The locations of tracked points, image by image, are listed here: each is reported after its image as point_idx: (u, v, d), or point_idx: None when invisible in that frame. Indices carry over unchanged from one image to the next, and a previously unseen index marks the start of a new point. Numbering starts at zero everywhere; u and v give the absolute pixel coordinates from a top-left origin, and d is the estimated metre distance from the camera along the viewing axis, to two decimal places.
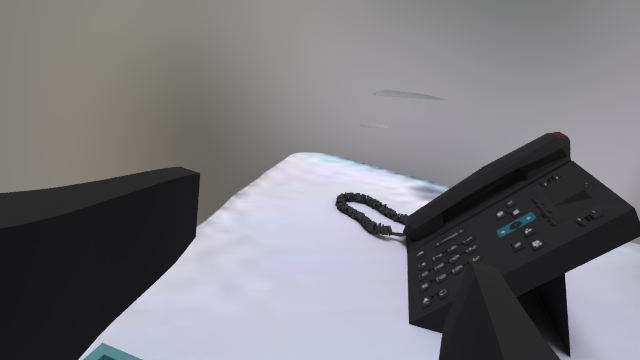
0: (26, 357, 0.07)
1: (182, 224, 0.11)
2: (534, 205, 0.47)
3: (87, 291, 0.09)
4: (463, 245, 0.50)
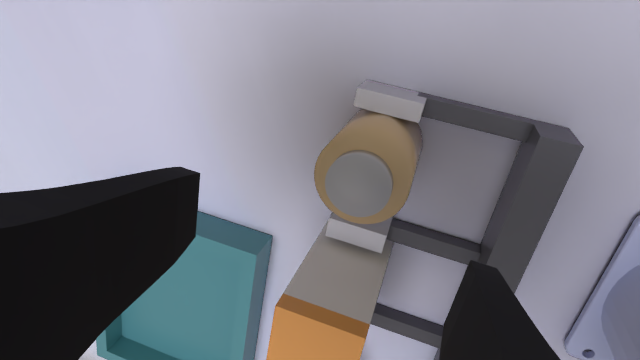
0: (26, 357, 0.07)
1: (182, 224, 0.11)
2: None
3: (87, 291, 0.09)
4: None
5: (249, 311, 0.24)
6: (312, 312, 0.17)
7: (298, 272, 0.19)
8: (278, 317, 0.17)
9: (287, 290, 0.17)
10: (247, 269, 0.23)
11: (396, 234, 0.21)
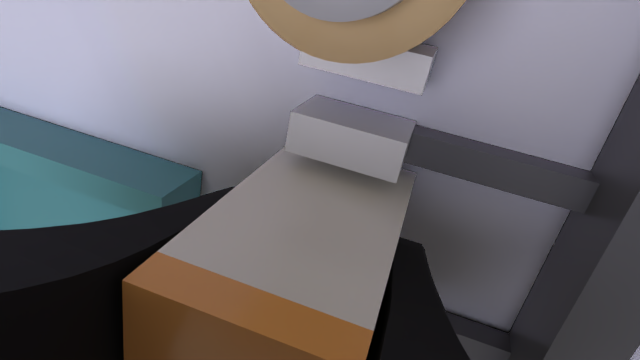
0: None
1: None
2: None
3: None
4: None
5: None
6: (221, 298, 0.06)
7: (212, 211, 0.08)
8: (135, 311, 0.06)
9: (171, 245, 0.07)
10: None
11: (424, 151, 0.11)
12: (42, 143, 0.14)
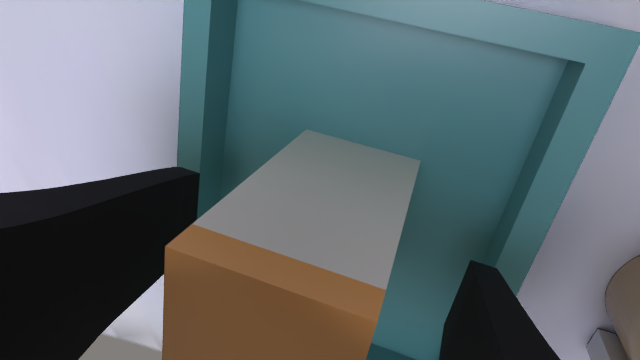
0: (26, 357, 0.07)
1: (182, 224, 0.11)
2: None
3: (87, 291, 0.09)
4: None
5: (561, 198, 0.11)
6: (252, 261, 0.07)
7: (236, 191, 0.09)
8: (175, 275, 0.07)
9: (203, 219, 0.08)
10: (599, 80, 0.09)
11: None
12: None
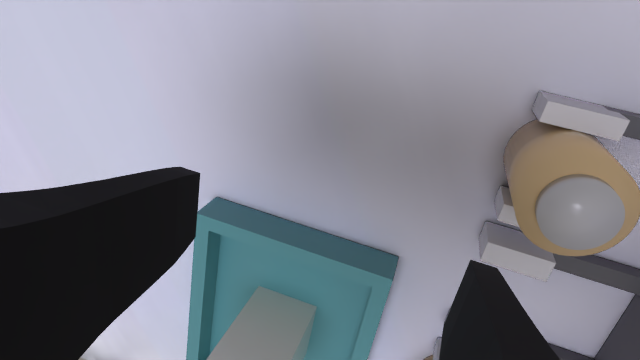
0: (26, 357, 0.07)
1: (182, 224, 0.11)
2: None
3: (87, 291, 0.09)
4: None
5: (373, 338, 0.22)
6: None
7: (218, 345, 0.21)
8: None
9: None
10: (379, 294, 0.21)
11: (556, 260, 0.19)
12: (302, 240, 0.22)
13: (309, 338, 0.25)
